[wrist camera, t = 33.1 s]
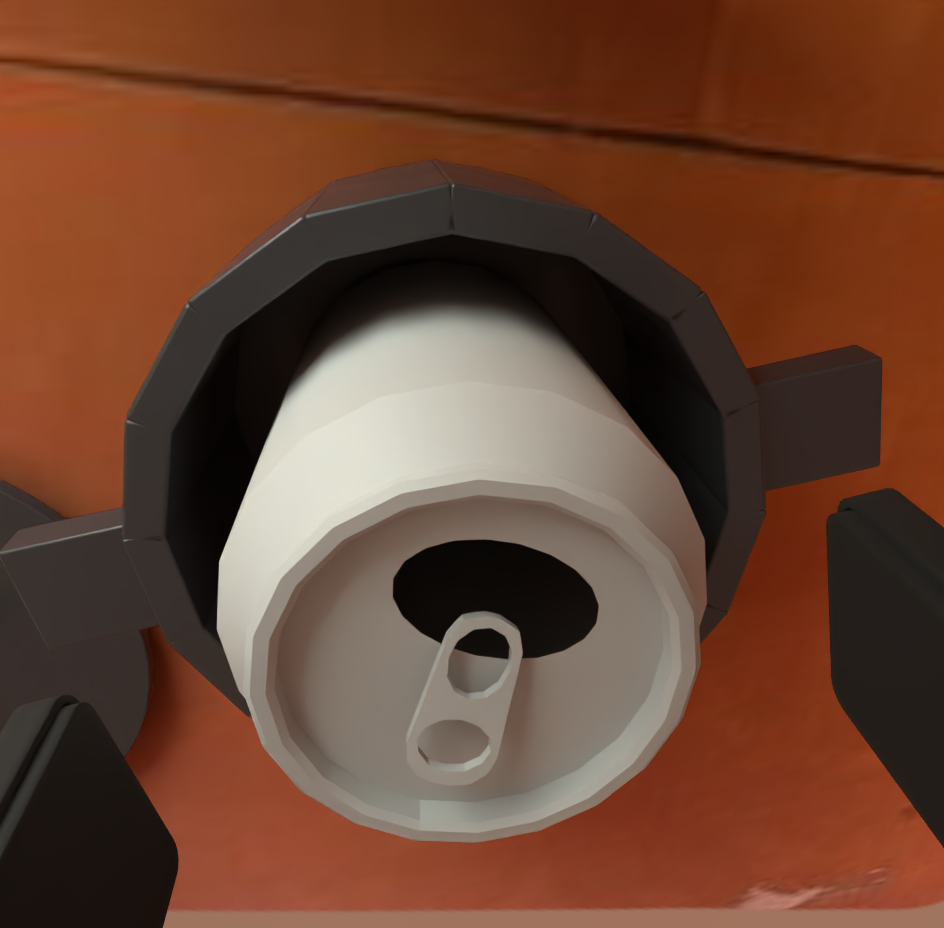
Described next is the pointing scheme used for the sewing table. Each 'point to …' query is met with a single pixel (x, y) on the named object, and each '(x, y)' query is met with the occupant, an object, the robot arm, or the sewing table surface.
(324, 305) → the pot
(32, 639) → the pot lid
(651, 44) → the sewing table surface
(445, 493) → the can
